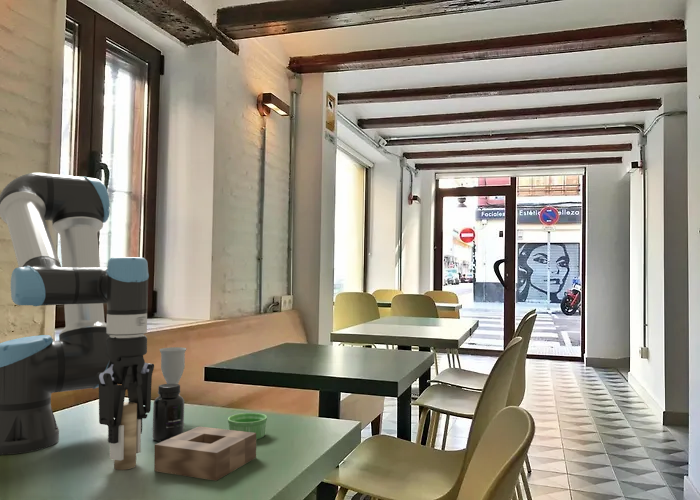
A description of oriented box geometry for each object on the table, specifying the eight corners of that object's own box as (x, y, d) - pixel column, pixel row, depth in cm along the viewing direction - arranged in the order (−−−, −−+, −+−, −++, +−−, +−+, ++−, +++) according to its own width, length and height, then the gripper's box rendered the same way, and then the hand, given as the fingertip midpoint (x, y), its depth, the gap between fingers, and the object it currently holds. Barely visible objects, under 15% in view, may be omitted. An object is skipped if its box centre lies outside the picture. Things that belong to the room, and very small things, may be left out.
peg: (109, 468, 112) (110, 405, 112) (124, 461, 116) (125, 401, 116) (125, 470, 111) (126, 407, 111) (140, 464, 114) (141, 403, 115)
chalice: (158, 417, 152) (159, 347, 152) (185, 415, 154) (186, 346, 154) (158, 424, 145) (159, 351, 145) (186, 421, 147) (187, 350, 147)
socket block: (154, 471, 110) (154, 444, 111) (198, 450, 124) (199, 426, 124) (216, 480, 105) (216, 452, 106) (256, 457, 118) (256, 432, 119)
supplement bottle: (174, 443, 129) (175, 388, 129) (146, 441, 130) (147, 387, 130) (189, 434, 135) (189, 383, 136) (162, 433, 137) (163, 381, 137)
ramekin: (220, 440, 131) (220, 420, 131) (239, 429, 140) (239, 411, 140) (256, 443, 129) (256, 423, 129) (273, 432, 137) (273, 414, 137)
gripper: (109, 341, 105) (107, 472, 104) (170, 331, 121) (169, 445, 120) (77, 339, 107) (75, 466, 107) (142, 330, 123) (140, 441, 122)
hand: (125, 455), depth 113 cm, fingers closed on peg, 4 cm apart
